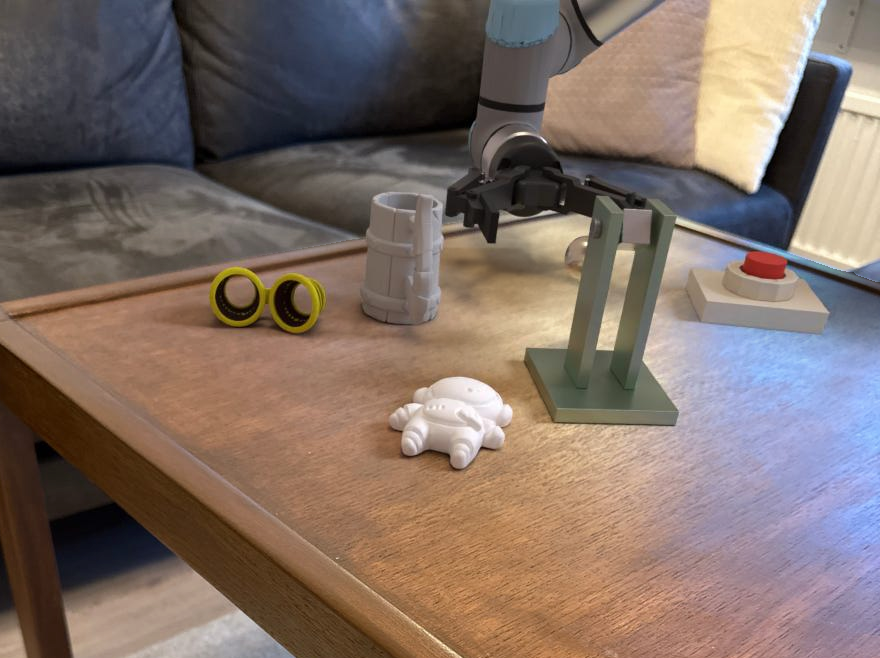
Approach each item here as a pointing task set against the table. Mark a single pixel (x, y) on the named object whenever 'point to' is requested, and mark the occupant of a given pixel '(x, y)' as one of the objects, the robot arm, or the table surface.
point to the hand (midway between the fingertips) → (566, 232)
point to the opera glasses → (267, 301)
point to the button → (764, 265)
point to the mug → (403, 258)
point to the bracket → (620, 370)
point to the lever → (630, 239)
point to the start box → (755, 300)
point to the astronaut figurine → (453, 419)
